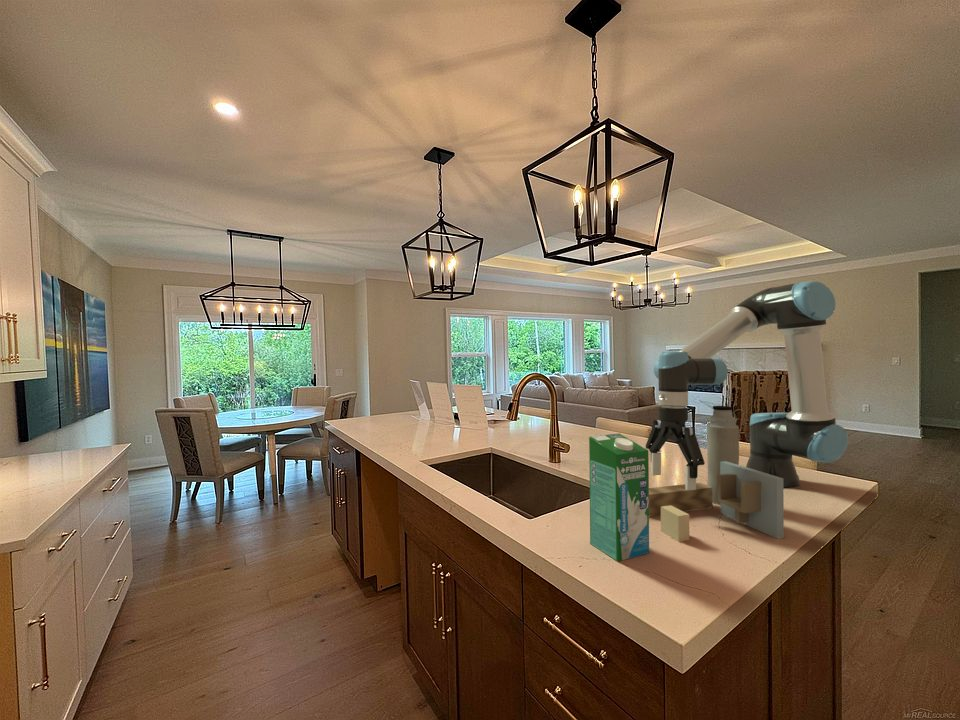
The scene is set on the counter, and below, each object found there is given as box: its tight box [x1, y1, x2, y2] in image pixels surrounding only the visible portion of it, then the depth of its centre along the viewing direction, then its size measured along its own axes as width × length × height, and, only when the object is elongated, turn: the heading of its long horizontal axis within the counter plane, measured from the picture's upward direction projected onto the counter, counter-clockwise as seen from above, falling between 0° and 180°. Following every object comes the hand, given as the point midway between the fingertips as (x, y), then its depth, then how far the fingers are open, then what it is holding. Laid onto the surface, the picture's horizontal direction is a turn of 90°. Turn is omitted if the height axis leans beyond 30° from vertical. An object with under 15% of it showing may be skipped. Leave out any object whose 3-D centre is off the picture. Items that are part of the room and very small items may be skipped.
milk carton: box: [588, 433, 650, 562], centre depth 91 cm, size 9×9×25 cm
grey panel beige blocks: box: [660, 461, 785, 543], centre depth 99 cm, size 25×16×14 cm, turn 104°
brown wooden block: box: [649, 482, 714, 517], centre depth 113 cm, size 22×4×6 cm, turn 104°
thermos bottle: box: [706, 405, 740, 506], centre depth 118 cm, size 8×8×28 cm
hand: (672, 482), depth 113 cm, fingers open, 13 cm apart
